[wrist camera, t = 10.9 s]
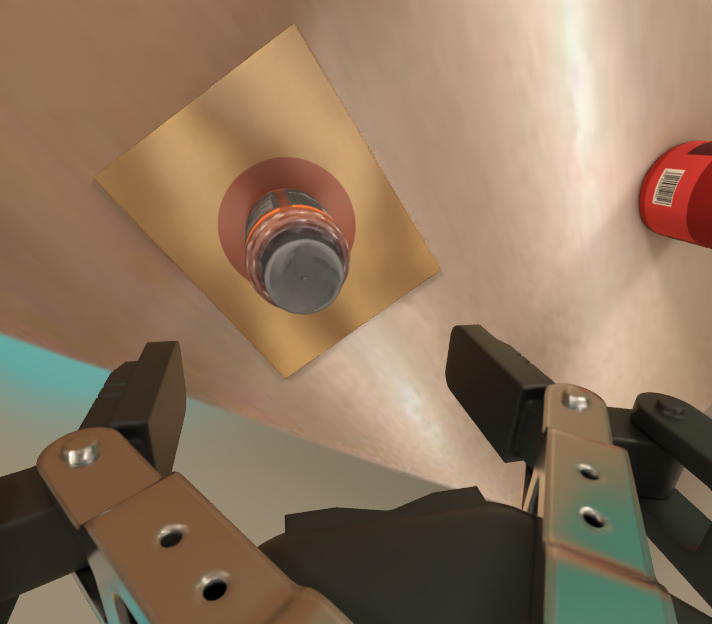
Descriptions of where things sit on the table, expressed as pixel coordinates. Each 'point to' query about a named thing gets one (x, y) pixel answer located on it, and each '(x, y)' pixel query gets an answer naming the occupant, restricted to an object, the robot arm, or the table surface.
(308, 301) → the supplement bottle
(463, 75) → the table surface
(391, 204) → the placemat
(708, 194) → the canned food
